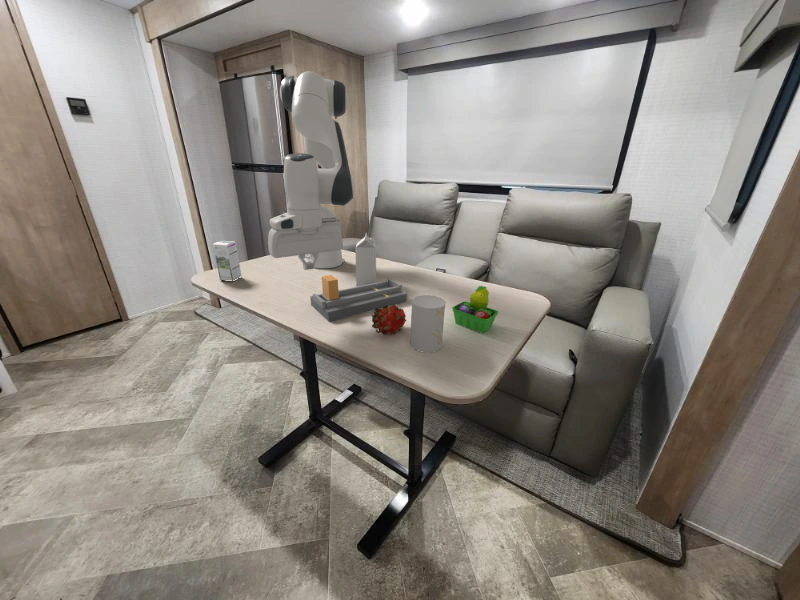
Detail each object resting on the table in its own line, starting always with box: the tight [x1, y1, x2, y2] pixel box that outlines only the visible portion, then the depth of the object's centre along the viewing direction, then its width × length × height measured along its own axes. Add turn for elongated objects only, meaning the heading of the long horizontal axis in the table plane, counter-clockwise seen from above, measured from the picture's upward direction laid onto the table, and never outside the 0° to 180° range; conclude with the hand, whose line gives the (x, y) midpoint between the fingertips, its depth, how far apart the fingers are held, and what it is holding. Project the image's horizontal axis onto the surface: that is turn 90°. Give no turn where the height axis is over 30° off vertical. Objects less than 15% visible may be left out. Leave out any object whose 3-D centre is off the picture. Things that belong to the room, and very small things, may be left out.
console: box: [310, 278, 408, 322], centre depth 106 cm, size 14×29×5 cm, turn 125°
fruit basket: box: [451, 285, 499, 334], centre depth 93 cm, size 11×9×11 cm
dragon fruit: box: [371, 304, 407, 336], centre depth 88 cm, size 8×8×12 cm
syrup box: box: [212, 240, 243, 281], centre depth 122 cm, size 6×6×14 cm
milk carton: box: [354, 232, 377, 287], centre depth 120 cm, size 7×7×19 cm
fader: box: [321, 274, 340, 302], centre depth 99 cm, size 5×4×7 cm
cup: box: [409, 294, 446, 353], centre depth 82 cm, size 8×8×12 cm
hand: (309, 268), depth 92 cm, fingers closed
